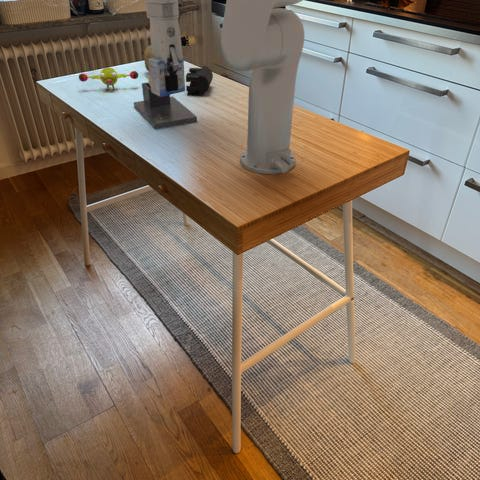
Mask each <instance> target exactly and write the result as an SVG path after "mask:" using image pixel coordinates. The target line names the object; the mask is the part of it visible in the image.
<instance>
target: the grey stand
mask: <svg viewBox="0 0 480 480" xmlns="http://www.w3.org/2000/svg"><path fill="white" fill-rule="evenodd" d="M141 88H142V96H143V100H141V101H134V102H133V107H134V109H135V110H136V111H137V112H138V113H139V115H141V117H142V118H143V119H144V120H145V121H146V122H147V123H148V124H149V125H150V126H151V127H152V128H153V129H154V130H161V129H165V128H170V127H177V126H182V125H188V124H189V125H190V124H195V123H198V117H197V116H196V115H195V114H194V113H193V112H192V111H191V110H190V109H188V108H187V107H186V106H185V105H184V104H182V103H181V102H180V101H179V100H178V99H177V98H176V97H174V96H171V95H167V96H162V97H160V96H158V95H156V94H154V93H152V92H151V88H149V82H143V83H141Z"/></svg>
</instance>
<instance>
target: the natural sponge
mask: <svg viewBox="0 0 480 480" xmlns="http://www.w3.org/2000/svg"><path fill="white" fill-rule="evenodd" d="M151 58H155V56H154V55H153V52H152V46H151V44H150V45H148V46H147V47H146V48H145V50H144V51H143V60H144V67H145V69H146V71H147V72H149V62H148V59H151ZM149 73H150V72H149Z"/></svg>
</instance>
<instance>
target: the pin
mask: <svg viewBox="0 0 480 480" xmlns="http://www.w3.org/2000/svg"><path fill="white" fill-rule="evenodd" d="M147 81H148V82H149V88H151V82H150V74H148V75H147ZM148 82H147V83H148Z"/></svg>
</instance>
